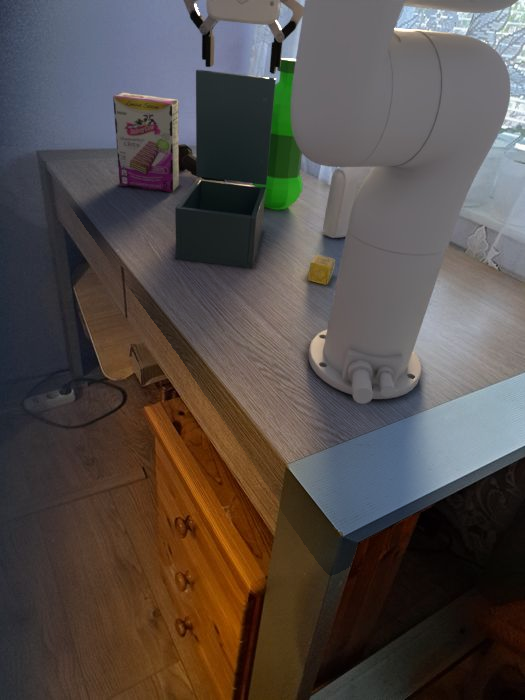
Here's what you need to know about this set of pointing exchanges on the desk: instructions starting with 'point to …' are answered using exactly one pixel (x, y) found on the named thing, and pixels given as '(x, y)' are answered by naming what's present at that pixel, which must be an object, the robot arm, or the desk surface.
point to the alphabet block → (321, 269)
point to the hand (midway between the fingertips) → (241, 69)
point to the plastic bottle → (283, 146)
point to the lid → (233, 126)
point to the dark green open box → (220, 223)
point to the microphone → (189, 161)
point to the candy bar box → (147, 141)
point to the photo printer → (342, 198)
